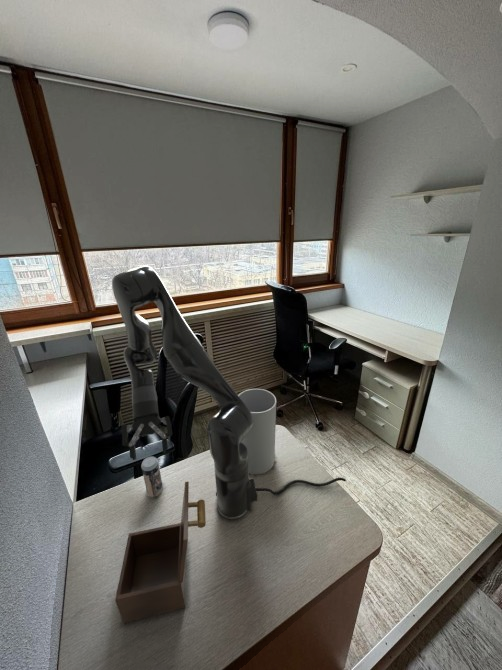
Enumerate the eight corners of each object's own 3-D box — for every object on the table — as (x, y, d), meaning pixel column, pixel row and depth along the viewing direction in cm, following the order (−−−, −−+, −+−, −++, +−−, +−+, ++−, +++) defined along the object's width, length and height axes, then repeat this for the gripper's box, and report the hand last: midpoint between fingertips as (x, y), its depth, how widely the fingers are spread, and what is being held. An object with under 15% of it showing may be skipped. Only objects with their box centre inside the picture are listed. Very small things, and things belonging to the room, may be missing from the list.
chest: (123, 623, 55) (114, 600, 52) (135, 556, 66) (128, 533, 63) (185, 607, 57) (181, 584, 54) (186, 544, 68) (182, 522, 65)
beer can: (158, 499, 80) (152, 469, 75) (144, 496, 81) (137, 466, 76) (166, 484, 84) (161, 456, 80) (152, 482, 85) (146, 453, 81)
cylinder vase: (281, 460, 93) (284, 400, 83) (256, 482, 85) (255, 419, 75) (256, 440, 101) (256, 384, 92) (231, 459, 93) (227, 399, 84)
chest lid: (183, 540, 49) (207, 537, 50) (185, 481, 60) (204, 480, 61) (178, 583, 54) (200, 579, 55) (181, 521, 65) (199, 519, 66)
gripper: (118, 404, 81) (121, 462, 75) (167, 395, 85) (173, 449, 79) (123, 408, 87) (126, 462, 82) (168, 400, 91) (174, 450, 86)
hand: (149, 456), depth 80 cm, fingers open, 8 cm apart
